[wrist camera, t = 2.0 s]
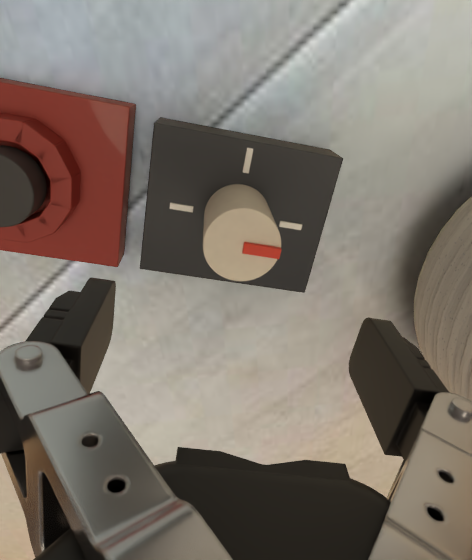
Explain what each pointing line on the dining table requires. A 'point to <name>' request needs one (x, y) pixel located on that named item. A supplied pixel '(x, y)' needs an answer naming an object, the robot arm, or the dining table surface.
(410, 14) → the dining table surface
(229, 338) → the dining table surface
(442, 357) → the vase
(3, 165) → the button
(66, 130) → the button housing
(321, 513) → the robot arm
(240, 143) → the control panel
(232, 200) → the knob
